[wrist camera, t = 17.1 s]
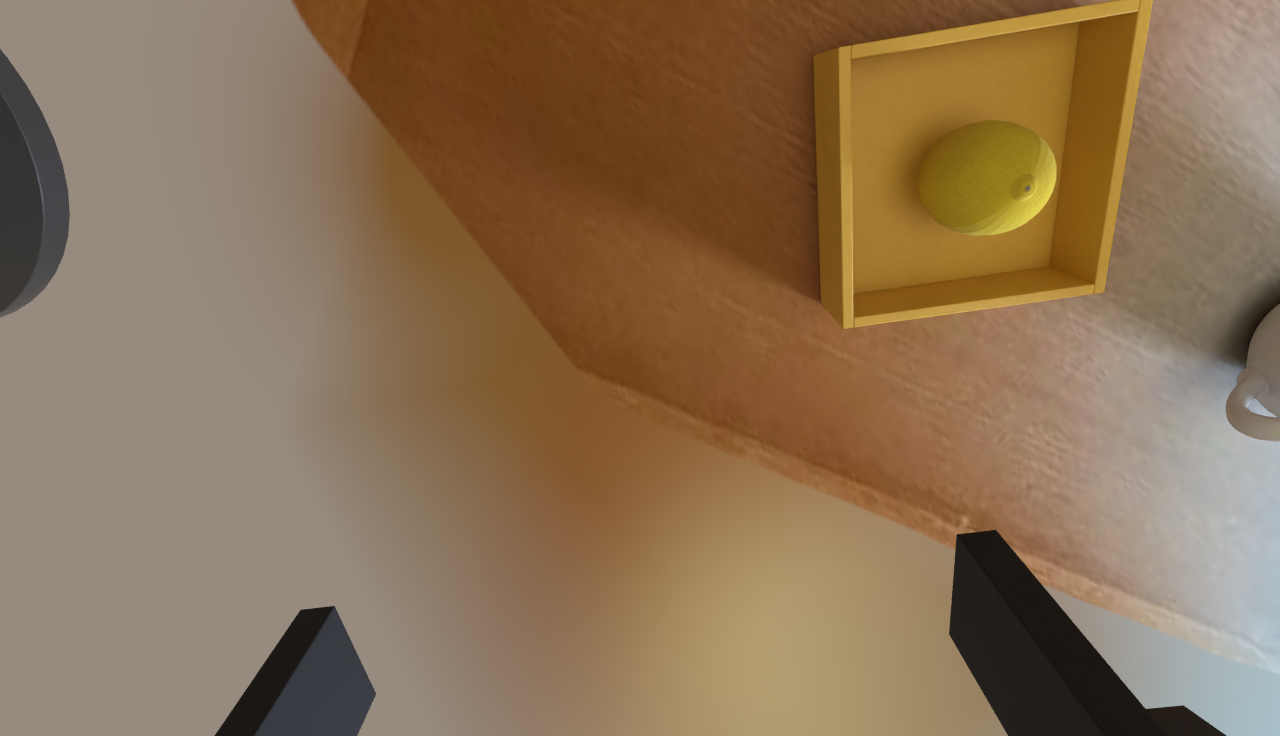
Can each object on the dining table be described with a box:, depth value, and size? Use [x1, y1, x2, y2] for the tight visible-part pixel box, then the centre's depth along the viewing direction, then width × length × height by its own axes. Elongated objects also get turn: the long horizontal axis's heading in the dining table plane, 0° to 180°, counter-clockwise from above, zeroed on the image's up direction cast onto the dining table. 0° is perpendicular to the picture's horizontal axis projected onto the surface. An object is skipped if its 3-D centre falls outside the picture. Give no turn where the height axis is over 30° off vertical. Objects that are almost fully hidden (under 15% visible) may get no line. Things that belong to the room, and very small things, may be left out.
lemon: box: [918, 120, 1057, 236], centre depth 30 cm, size 6×6×8 cm
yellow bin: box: [813, 0, 1153, 329], centre depth 32 cm, size 14×14×5 cm
